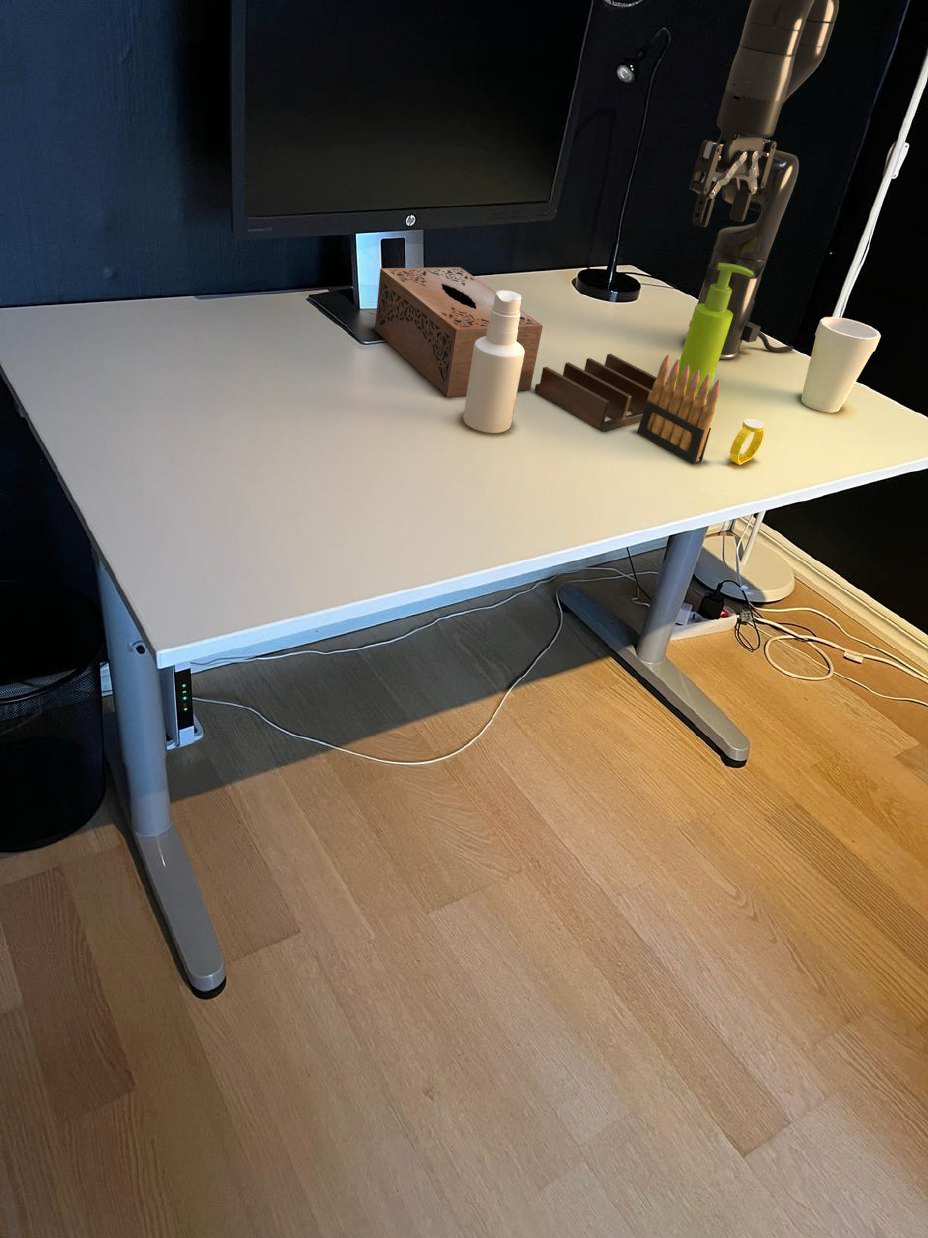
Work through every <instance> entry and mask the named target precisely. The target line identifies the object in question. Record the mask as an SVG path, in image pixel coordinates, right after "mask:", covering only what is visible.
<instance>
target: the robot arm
mask: <svg viewBox="0 0 928 1238" xmlns="http://www.w3.org/2000/svg"><path fill="white" fill-rule="evenodd" d="M839 4H840V0H751V2H750V5H749V8H748V12H747V15H746V19H745V22H744V26H743V30H742V34H741V38H740V41H739V45H738V48H737V51H736V54H735V57H734V59H733V61H732V64H731V68H730V71H729V74H728V78H727V81H726V84H725V85H726V86H725V89H724V92H723V93H724V94H723V97H722V99H721V104H720V108H719V110H718V116H717V119H716V126H717V127H718V128H719V129H720V131H721V133H720V136H719V138H718V140H717V142H715V141H711V140H707V139H704V140H703V141H702V142H701V144H700V148H699V152H698V155H697V158H696V161H695V165H694V169H693V171H692V176H691V179H690V182H689V185H688V186H689V188H688V189H689V190H692V191H694V192H696V194H697V197H696V202H695V206H694V210H693V212H692V218H691V223H692V225H694V226H697V227H700V228H706V227H708V225H709V222H710V218H711V215H712V213H713V212H712V211H713V207H714V205H715V202H716V201H715V197H716V195H718V193H719V191H720V190H721V192H722V193H721V195H722V199H723V200H724V201H725V203H728V204H730V205H731V208H730V210H729V214H728V218H729V219H730V220H732V221H734V222H737V223H742V222H744V221H745V219H746V216H747V214H748V210H751V211H754V212H758V213H759V215H758V217H757V219H756V220H755V221H754V222H751V223H749V224H745V225H737V226H727V227H724V228H722V229H720V230H719V232H717V235H716V237H715V240H714V241H715V242H714V244H713V248H712V251H711V255H710V259H709V262H708V264H707V265H708V266H707V269H706V272H705V276H704V279H703V282H702V285H701V289H700V293H699V296H698V300H697V303H696V305H698V304H705V302H706V298H707V295H708V292H709V288H710V285H712V284H714V283H717V281H718V278H719V274H720V271H721V270H718V264H719V263H726V264H734V265H738V266H742V267H745V268H747V269H749V270H751V271H752V272H753V274H754V276H752V277H749V276H746V275H744V274H741V273H736V272H732V274H731V277H730V280H729V283H728V286H729V287H730V288H731V289H732V293H731V296H730V299H729V302H728V306H727V309H728V310H729V311H731V312H732V313H733V317H732V320H731V323H730V327H729V330H728V333H727V336H726V339H725V342H724V345H723V349H722V352H721V355H720V358H719V360H728V359H729V360H730V359H734V358H735V357H736V356H737V355H738V353H739V352H740V348H741V346H742V342H746V343H748V344H750V343H753V342H756V341H757V340H758V338H760V339H761V341H762V344H763V346H764V348H765V349H766V350H767V351H769V352H772V353H784V352H792V351H793V350H794V346H793V345H786V346H780V347H775V346H773V345H771V344H770V342H769V339H768V337H767V336H766V334H764V333H763V332H762V331H761V326H760V325H758V324H755V323H753V322H751V321H750V318H751V315H752V314H753V313H752V312H753V310H754V306H755V303H756V301H755V299H756V295H757V291H758V289H759V286H760V282H761V280H762V276H763V273H764V270H765V267H766V264H767V261H768V259H769V256H770V252H771V249H772V246H773V244H774V242H775V239H776V236H777V233H778V230H779V228H780V224H781V221H782V219H783V216H784V214H785V211H786V208H787V206H788V203H789V201H790V198H791V195H792V193H793V190H794V187H795V186H796V182H797V178H798V175H799V168H800V163H799V159H798V157H797V156H796V155H794V154H792V153H790V152H789V153H788V152H786V151H781V150H778V149H777V145H778V143H777V141H774V140H773V139H772V140H771V139H769V138H770V137H772V136H773V135H774V133H775V130H776V127H777V123H778V121H779V117H780V114H781V111H782V107H783V105H784V103H785V102H786V101H787V100H788V99H789V97H791V95H793V94H794V92H796V91H797V90H798V89H799V88H800V87H801V85H803V84H804V82H806V80H807V79H808V78H809V77H811V75H812V74H813V73H814V72H815V70H816V69H817V68H818V67H819V65H820V64H821V62H822V61H823V59H824V57H825V55H826V51H827V49H828V45H829V42H830V39H831V36H832V32H833V30H834V26H835V22H836V20H837V16H838V14H839V7H840V5H839ZM716 170H717V171H716ZM702 173H704V176H703V178H702V179H701V176H702ZM700 179H701V181H700ZM712 182H713V183H712ZM721 188H722V189H721ZM690 324H691V320H690V321H689V325H688V328H689V327H690Z"/></svg>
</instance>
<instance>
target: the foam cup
mask: <svg viewBox="0 0 928 1238" xmlns="http://www.w3.org/2000/svg"><path fill="white" fill-rule="evenodd" d="M814 336H815V339H814V342H813V347H812V351H811V355H810V360H809V364H808V367H807V373H806V377H805V380H804V385H803V389H802V392H801V398H800V400H801V403H803V404H804V405H805V407H809V408H810V409H812V410H815V411H818V412H822V413H829V414H832V413H833V414H834V413H837V412H839V411H840V410H841V408H842V406H843V405H844V403H845V401H846V400H847V397H848V396H849V394H850V393H851V391H852V389H853V388H854V385H855V383H856V382H857V381H858V378H859V377H860V375H861V374H862V371H863V369H864V368H865V366H866V364H867V363H868V360H869V359H870V357H871V356H872V354H873V352H875V351H876V349H877V346H878V344H879V342H880V339H881V337H882V335H881V333H880V332H879V331H878V329H875V328H874V327H872V326H870V325H868V324H865V323H863V322H860V321H858V320H853V319H849V318H845V317H838V316H837V317H836V316H824V317H823V318H821V319H820V320H819V323H818V326H817V328H816V331H815V333H814Z"/></svg>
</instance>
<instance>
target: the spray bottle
mask: <svg viewBox="0 0 928 1238" xmlns="http://www.w3.org/2000/svg"><path fill="white" fill-rule="evenodd" d="M495 292H496V293H495V300H494V305H493V308H492V309H491V313H490V319H489V324H488V328H487V334H486V336H484V337H481V338H479V339H478V340H476V342H475V344H474V349H473V356H472V362H471V369H470V375H469V382H468V388H467V395H465V401H464V408H463V414H462V418H463V422H464V423H465V424H466V425H467V426H468V427H470V428H471V429H473V430H476V431H479V432H483V433H487V434H488V433H489V434H497V433H498V434H499V433H503V432H506V431H508V430H510V428H511V426H512V422H513V416H514V411H515V405H516V402H517V401H516V400H517V396H518V391H517V390H518V385H519V380H520V375H521V369H522V364H523V359H524V353H525V350H524V348H523V347H522V345H520V344H519V343H518V342H517V341H516V339H517V334H518V325H519V319H520V310H521V309H520V308H521V303H522V299H523V297H522V295H521V294H519V292H516V291H512V290H506V289H504V290H503V289H502V290H497V291H495Z"/></svg>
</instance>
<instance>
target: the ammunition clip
mask: <svg viewBox="0 0 928 1238" xmlns="http://www.w3.org/2000/svg"><path fill="white" fill-rule="evenodd" d="M679 361H680V359H676V360H675V362H674V363H673V365H672V367H671V369H670V371H669V368H670V355H669V354H667V355H665V357H664V359H663V360H662V362H661V364H660V366H659V369H658V373H657V375H656V377H657V378H656V380H655V382H654V385H653V388H652V392H651V395H650V399H649V400H648V401H647V403H646V406H645V409H644V412H643V415H642V418H641V421H640V422H639V425H638V427H637V429H636V430H637V431H636V433H637V434H638V435H640V436H641V437H644V438H645V439H647V440H649V441H650V442H653V443H654V444H656V445H658V446H660V447H661V448H662V449H665V450H667V451H668V452H670V453H672V454H674V455H676V456H677V457H678V458H681V459H682V460H684V461H686V462H688V463H690V464H691V465H695V464H698V463H701V462H702V461H703V458H704V454H705V451H706V448H707V444H708V440H709V436H710V433H711V431H712V428H711V425H712V421H713V418H714V415H715V412H716V405H717V402H718V398H719V393H720V389H721V381H720V379H717V380H716V381H715V382H714V384H713V385H712V386H711V388H710V390H709V393H708V395H707V392H708V388H709V381H710V377H709V375H707V376H706V377H705V378H704V380H703V382H702V384H701V386H700V388H699V391H698V394H697V396H696V397H695V395H696V391H697V387H698V382H699V370H696V372H695V373H694V375H693V377H692V378H691V381H690V383H689V386H688V389H687V391H686V394H685V390H686V386H687V382H688V378H689V365H687V366H686V367H685V368H684V370H683V372H682V374H681V376H680V379H679V382H678V384H677V387H676V389H675V385H676V381H677V377H678V372H679ZM668 372H669V374H668ZM667 376H668V377H667ZM665 383H666V385H665ZM707 396H708V397H707ZM706 399H707V400H706Z"/></svg>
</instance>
